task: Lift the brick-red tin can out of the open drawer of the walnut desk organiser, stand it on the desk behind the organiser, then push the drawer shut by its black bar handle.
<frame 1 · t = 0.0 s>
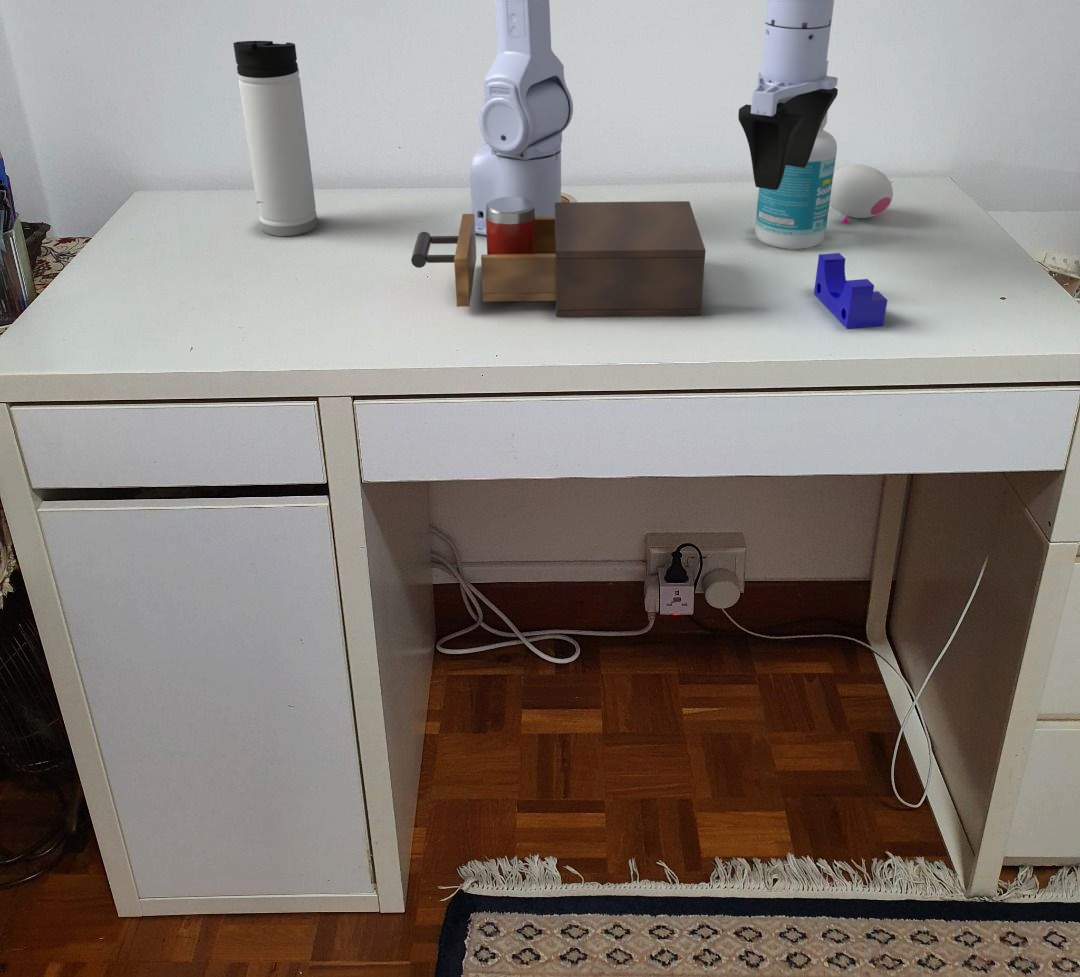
hand: (781, 176, 105), 10 cm above the table, tool pointing down, fingers open, 7 cm apart
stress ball: (856, 216, 126), on the table
organiser: (624, 288, 109), on the table
travel mug: (288, 229, 125), on the table
pill bottle: (789, 241, 120), on the table
cable holder: (847, 311, 104), on the table
can: (512, 270, 108), point 2 cm above the table, touching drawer
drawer: (501, 258, 107), point 3 cm above the table, slide at 8.0 cm, touching can
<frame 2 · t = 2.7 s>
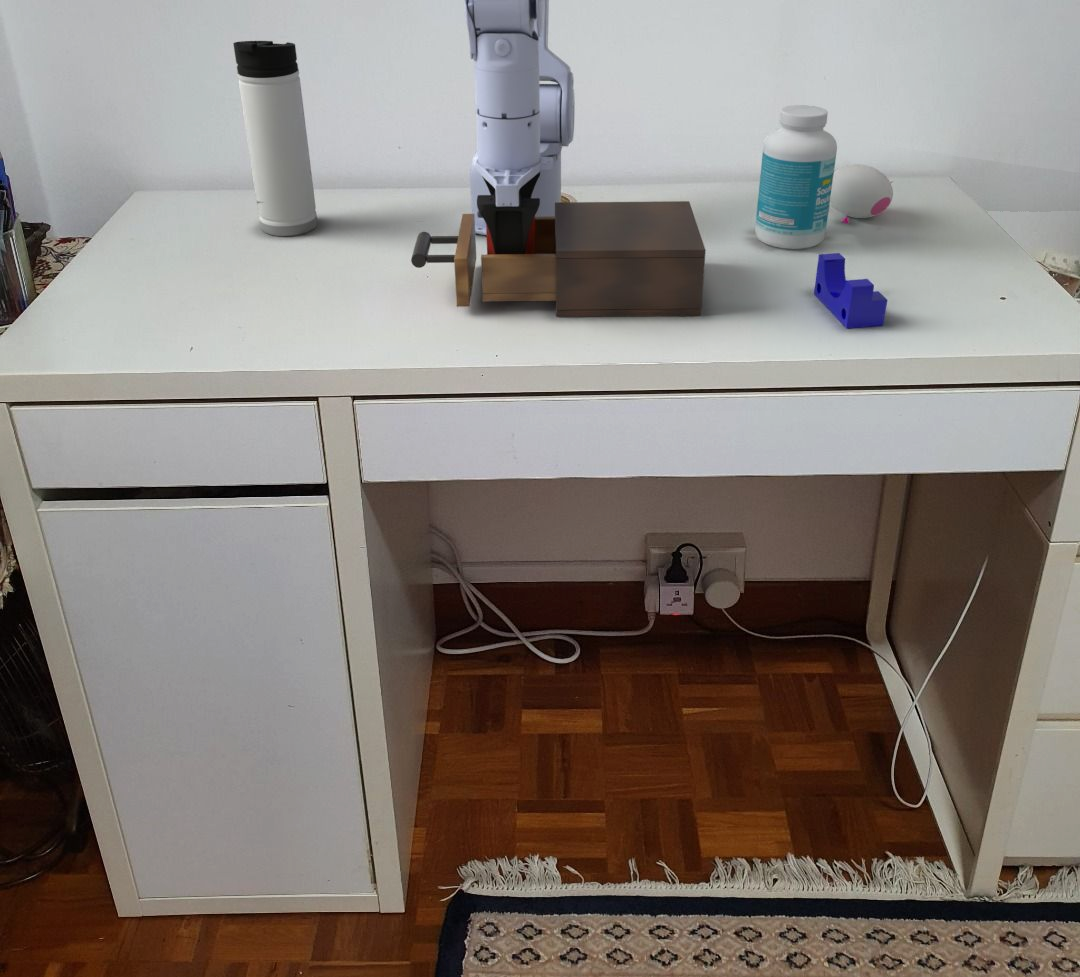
hand: (511, 256, 107), 3 cm above the table, tool pointing down, fingers open, 7 cm apart
nothing on the table moved.
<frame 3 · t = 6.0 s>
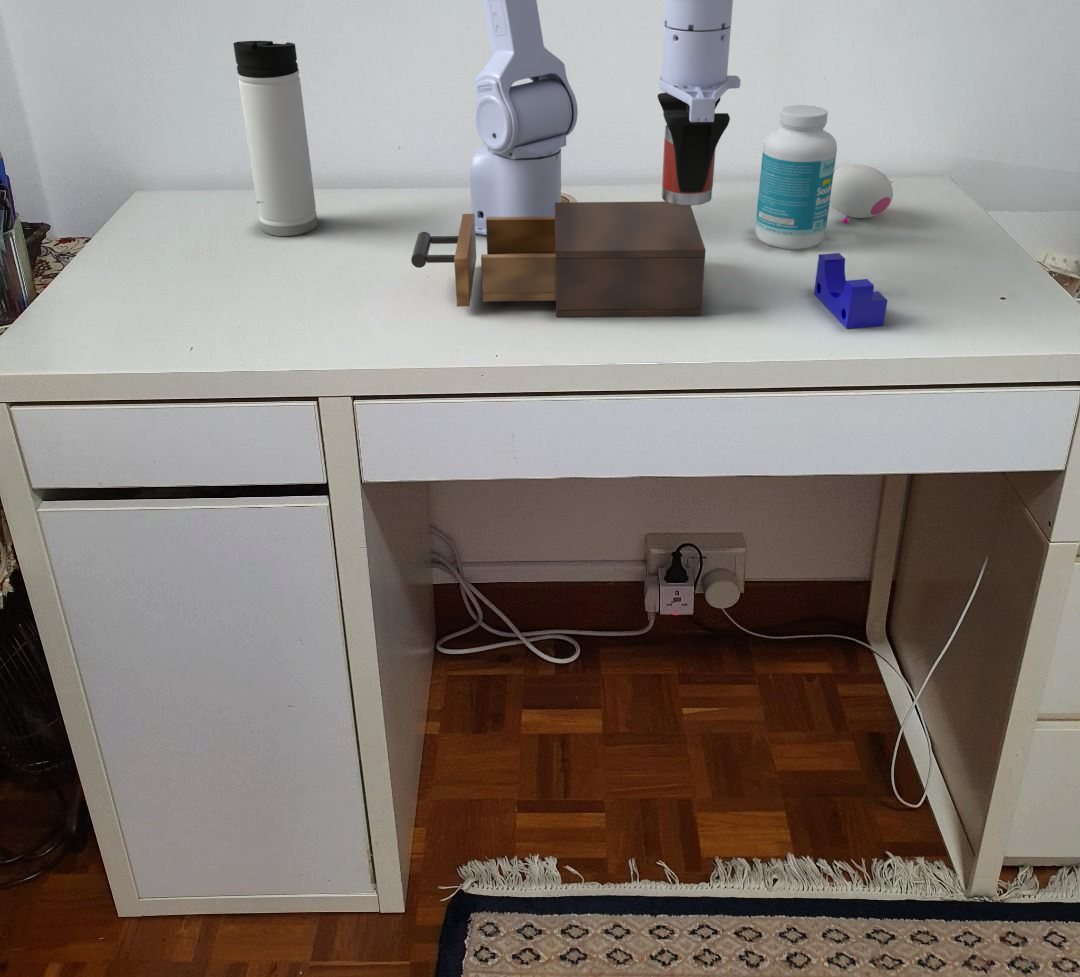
hand: (688, 182, 103), 10 cm above the table, tool pointing down, fingers closed on can, 4 cm apart
can: (686, 197, 104), point 9 cm above the table, touching gripper
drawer: (501, 258, 107), point 3 cm above the table, slide at 8.0 cm
everything else where it was.
when the fingers open (1 cm above the table, at t = 9.1 s): can stays where it is, on the table.
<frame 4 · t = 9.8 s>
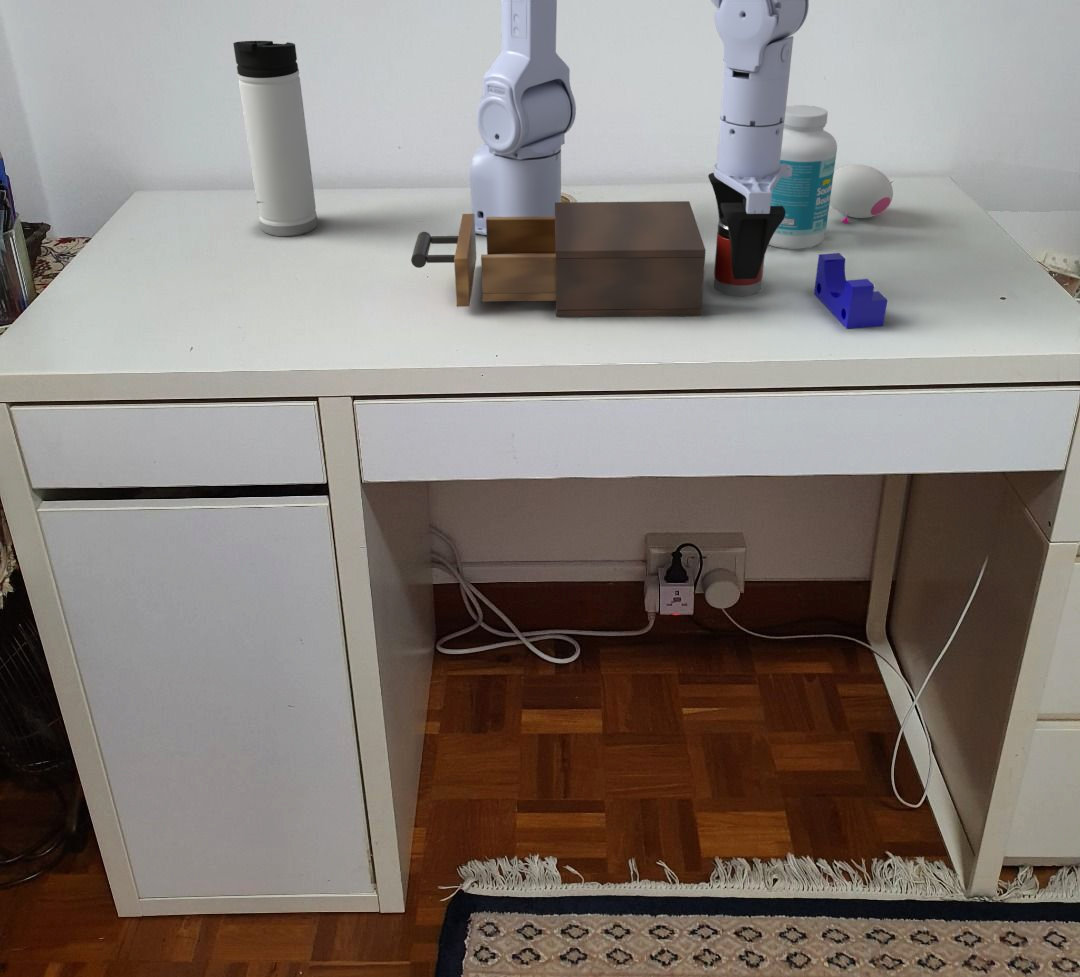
hand: (738, 262, 107), 3 cm above the table, tool pointing down, fingers open, 7 cm apart
can: (737, 287, 109), on the table
everything else where it was.
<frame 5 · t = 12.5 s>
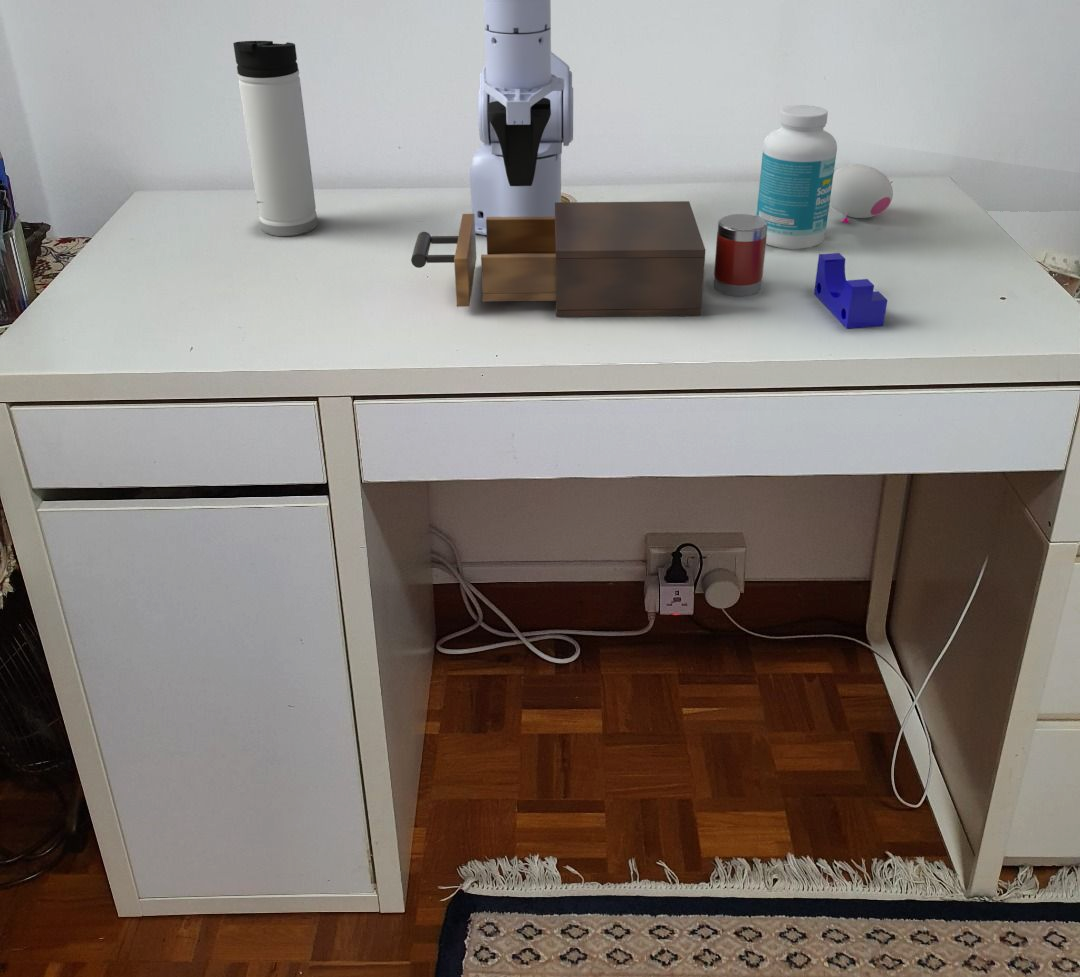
hand: (520, 183, 103), 10 cm above the table, tool pointing down, fingers closed
nothing on the table moved.
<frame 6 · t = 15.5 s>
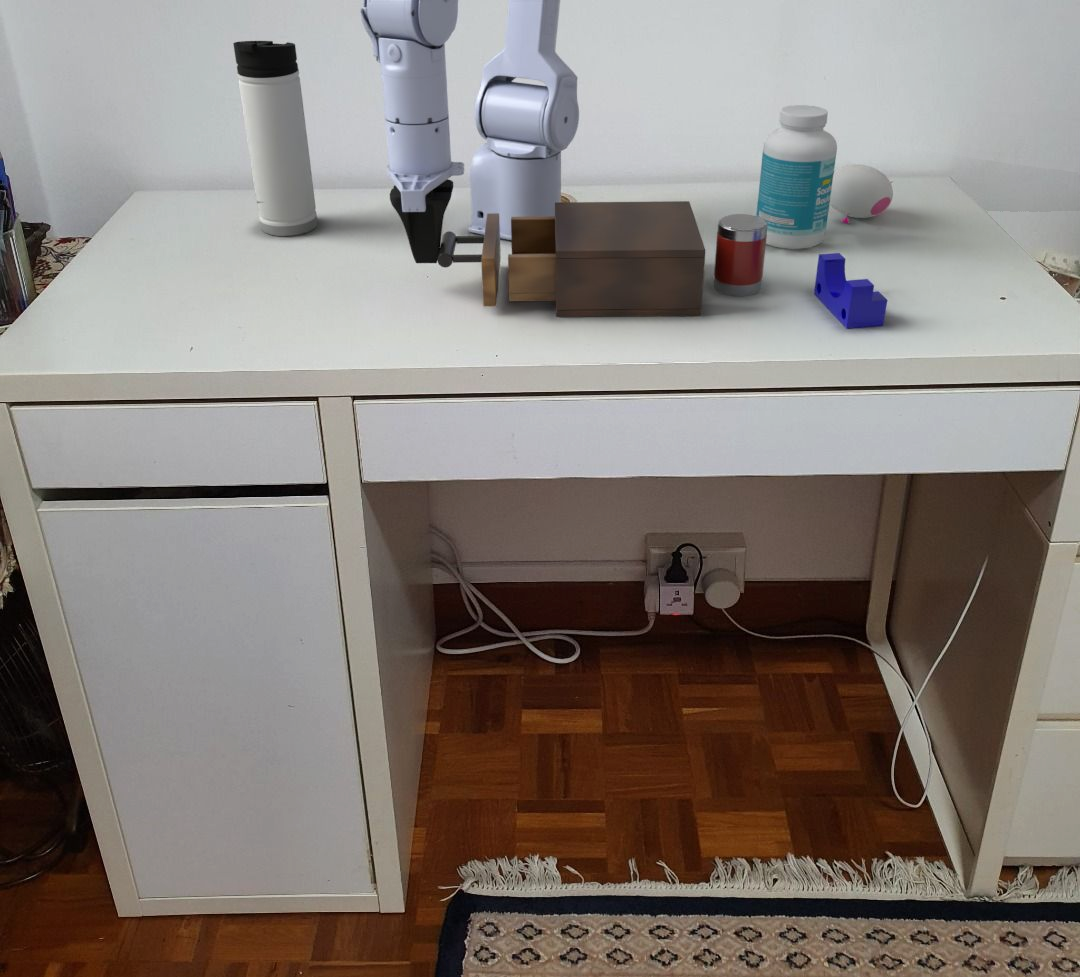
hand: (426, 260, 108), 3 cm above the table, tool pointing down, fingers closed, pressing on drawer
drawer: (527, 257, 107), point 3 cm above the table, slide at 5.5 cm, touching gripper
everything else where it was.
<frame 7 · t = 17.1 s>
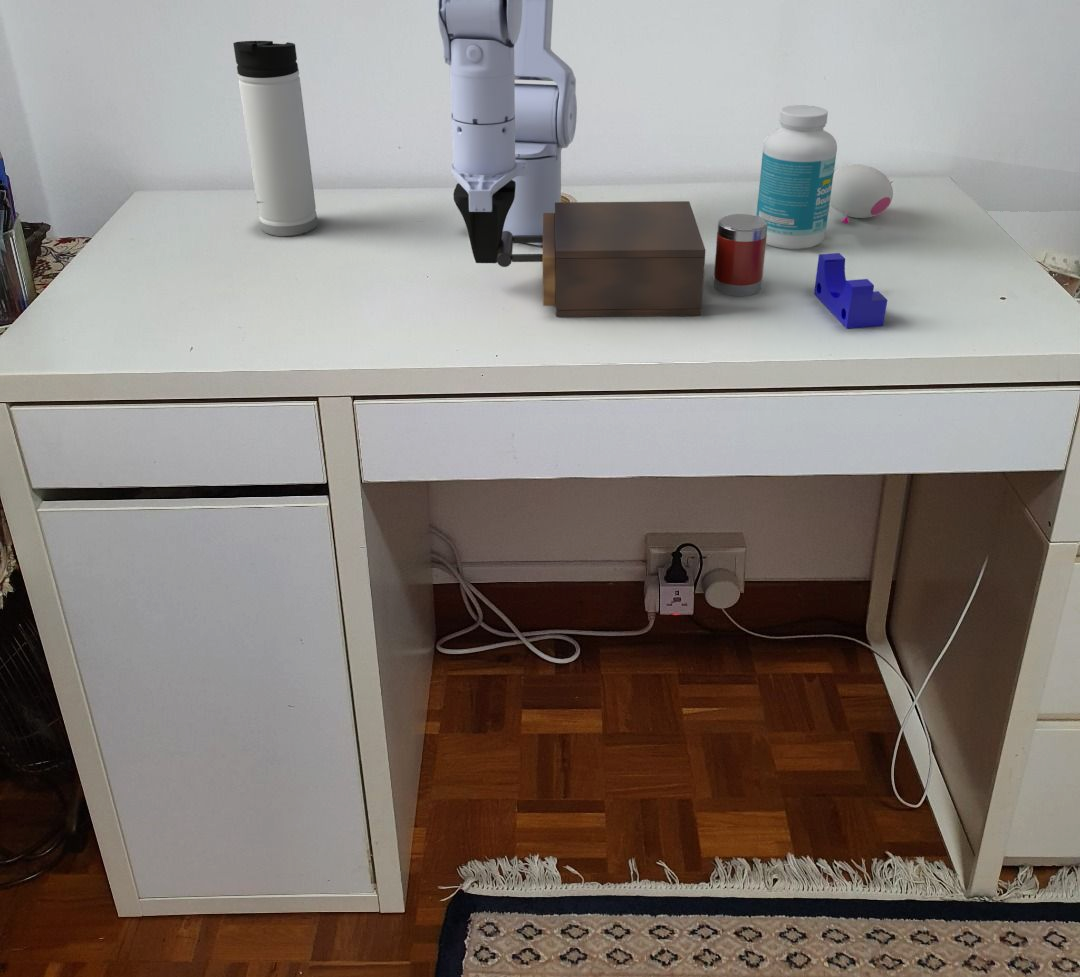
hand: (486, 260, 107), 3 cm above the table, tool pointing down, fingers closed, pressing on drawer
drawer: (585, 257, 107), point 3 cm above the table, slide at 0.0 cm, touching gripper, organiser
everything else where it was.
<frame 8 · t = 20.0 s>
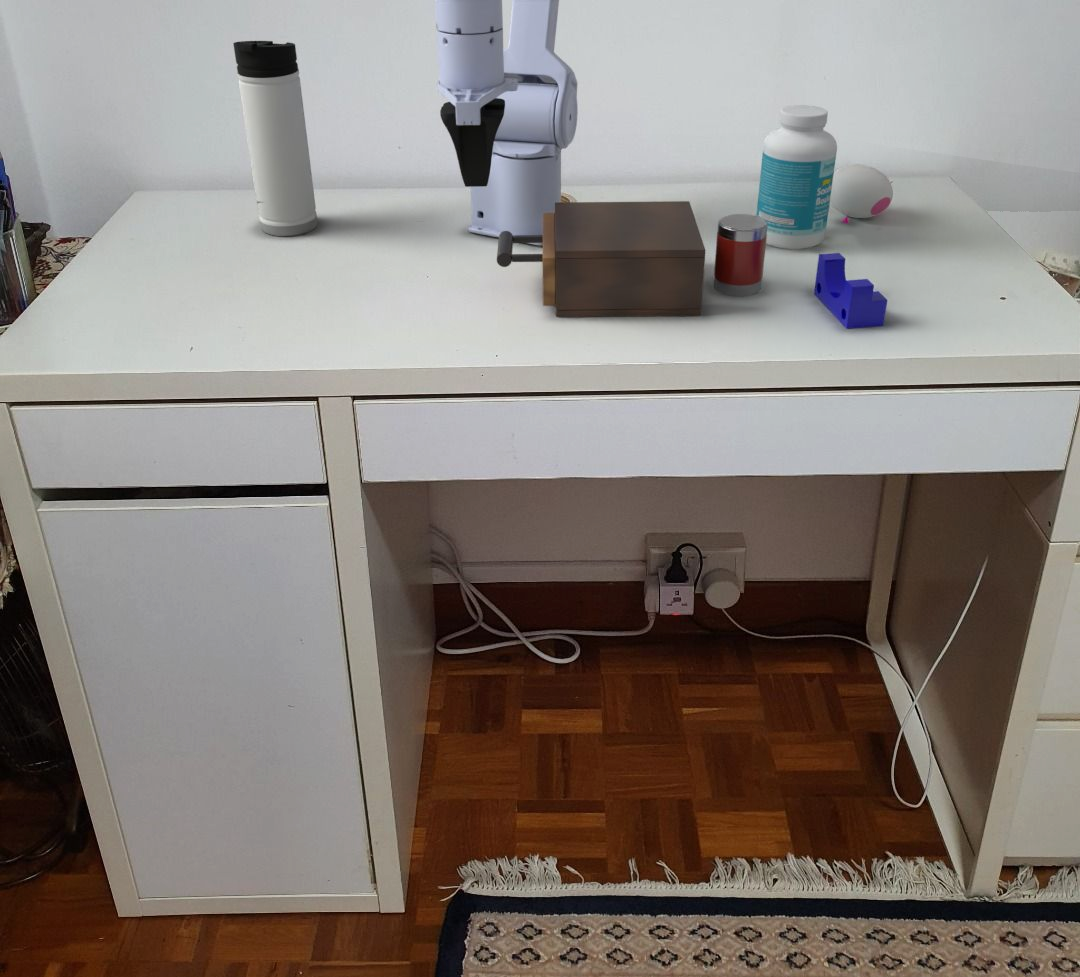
hand: (476, 184, 103), 10 cm above the table, tool pointing down, fingers closed
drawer: (585, 257, 107), point 3 cm above the table, slide at 0.0 cm, touching organiser
everything else where it was.
at the end: can 0.0 cm from the target spot, on the table; can tilted 0°; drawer slide at 0.0 cm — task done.
